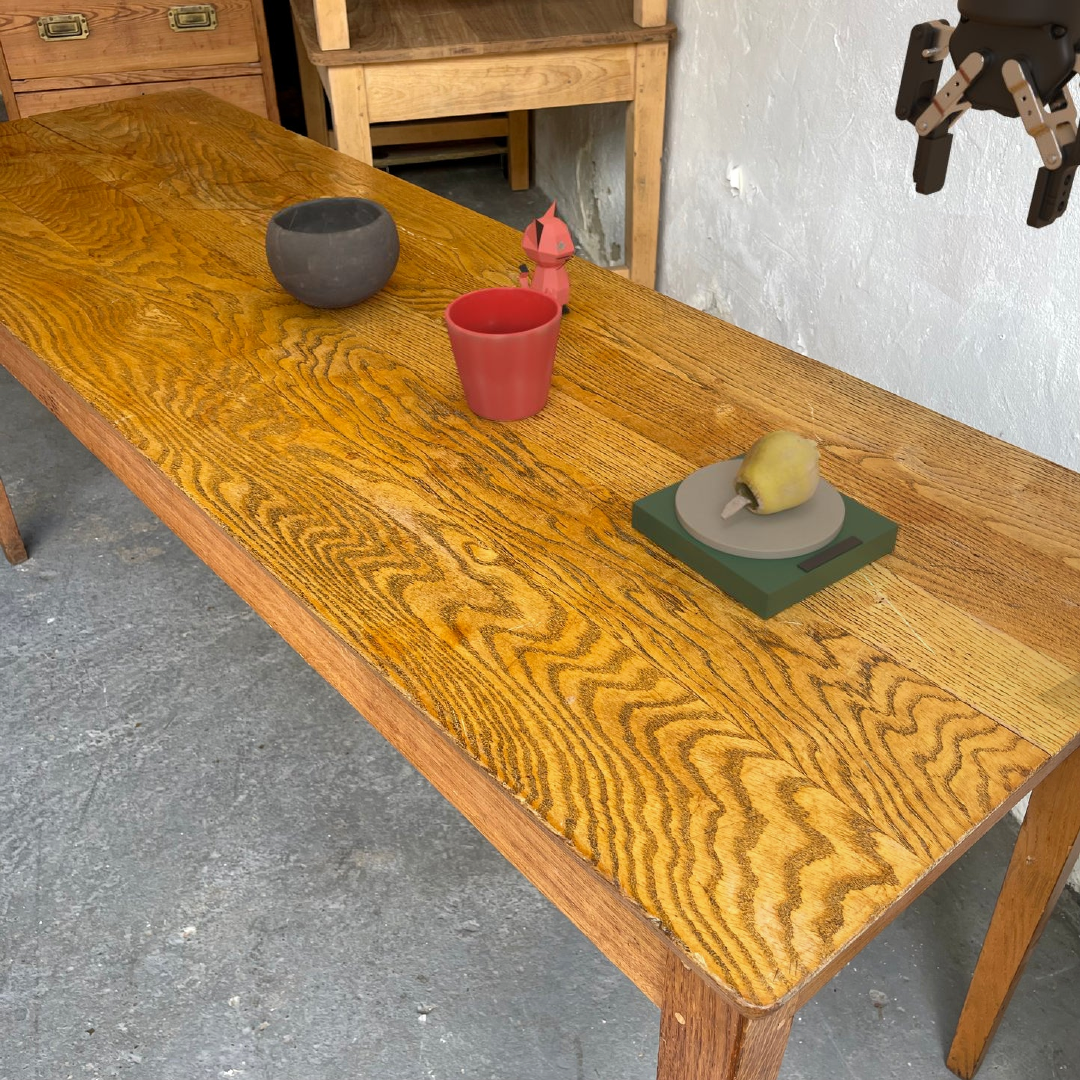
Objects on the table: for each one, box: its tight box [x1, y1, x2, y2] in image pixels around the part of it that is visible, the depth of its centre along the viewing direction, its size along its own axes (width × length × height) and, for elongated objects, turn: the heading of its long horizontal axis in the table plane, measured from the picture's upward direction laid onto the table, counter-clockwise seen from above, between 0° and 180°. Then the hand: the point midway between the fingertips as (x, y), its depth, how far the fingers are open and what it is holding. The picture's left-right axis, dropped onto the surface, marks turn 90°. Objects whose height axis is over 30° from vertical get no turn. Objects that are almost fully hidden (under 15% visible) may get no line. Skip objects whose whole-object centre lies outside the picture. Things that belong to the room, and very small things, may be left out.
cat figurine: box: [518, 200, 579, 315], centre depth 120 cm, size 7×7×12 cm
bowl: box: [264, 196, 401, 309], centre depth 126 cm, size 15×15×10 cm
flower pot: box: [444, 286, 563, 422], centre depth 104 cm, size 11×11×10 cm
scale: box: [631, 451, 900, 621], centre depth 86 cm, size 15×14×3 cm
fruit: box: [720, 429, 822, 520], centre depth 84 cm, size 6×6×10 cm
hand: (982, 207), depth 72 cm, fingers open, 8 cm apart
